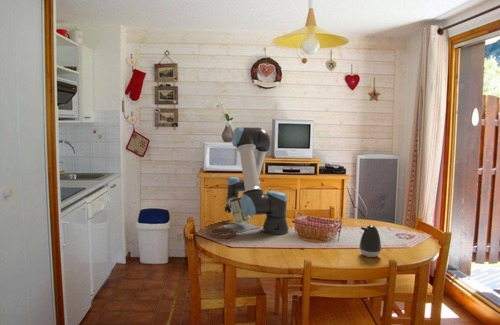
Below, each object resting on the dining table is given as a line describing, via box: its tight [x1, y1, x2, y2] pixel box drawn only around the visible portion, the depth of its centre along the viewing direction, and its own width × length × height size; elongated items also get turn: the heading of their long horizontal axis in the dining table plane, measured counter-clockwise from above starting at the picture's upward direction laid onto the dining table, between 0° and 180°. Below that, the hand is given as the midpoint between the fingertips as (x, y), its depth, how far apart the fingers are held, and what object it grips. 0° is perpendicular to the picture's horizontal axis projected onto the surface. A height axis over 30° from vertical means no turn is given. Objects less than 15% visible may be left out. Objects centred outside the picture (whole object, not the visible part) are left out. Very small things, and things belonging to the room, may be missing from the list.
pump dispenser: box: [359, 224, 382, 258], centre depth 194 cm, size 10×10×15 cm
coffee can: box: [230, 196, 253, 223], centre depth 236 cm, size 10×10×14 cm
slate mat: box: [221, 222, 260, 233], centre depth 238 cm, size 16×16×1 cm
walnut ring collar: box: [209, 227, 237, 239], centre depth 222 cm, size 14×14×2 cm
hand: (242, 212), depth 234 cm, fingers closed on coffee can, 11 cm apart
